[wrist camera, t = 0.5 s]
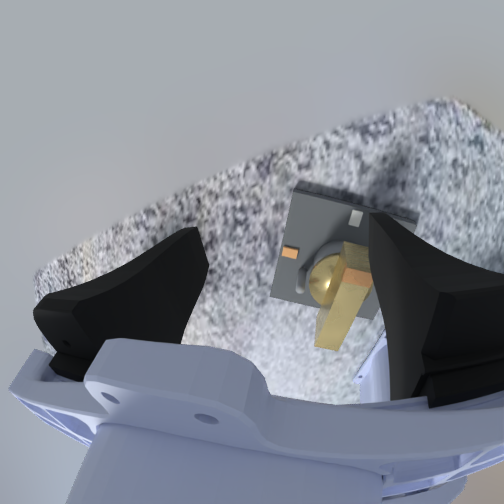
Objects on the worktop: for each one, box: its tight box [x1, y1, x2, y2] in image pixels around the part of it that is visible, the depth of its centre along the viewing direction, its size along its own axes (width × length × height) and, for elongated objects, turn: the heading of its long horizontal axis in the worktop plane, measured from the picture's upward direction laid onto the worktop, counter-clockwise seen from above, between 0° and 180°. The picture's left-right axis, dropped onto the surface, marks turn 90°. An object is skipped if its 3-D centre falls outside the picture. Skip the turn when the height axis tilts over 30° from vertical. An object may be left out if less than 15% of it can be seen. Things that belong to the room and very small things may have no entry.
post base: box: [270, 189, 417, 320], centre depth 22 cm, size 10×10×3 cm
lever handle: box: [309, 241, 373, 351], centre depth 20 cm, size 7×5×4 cm
